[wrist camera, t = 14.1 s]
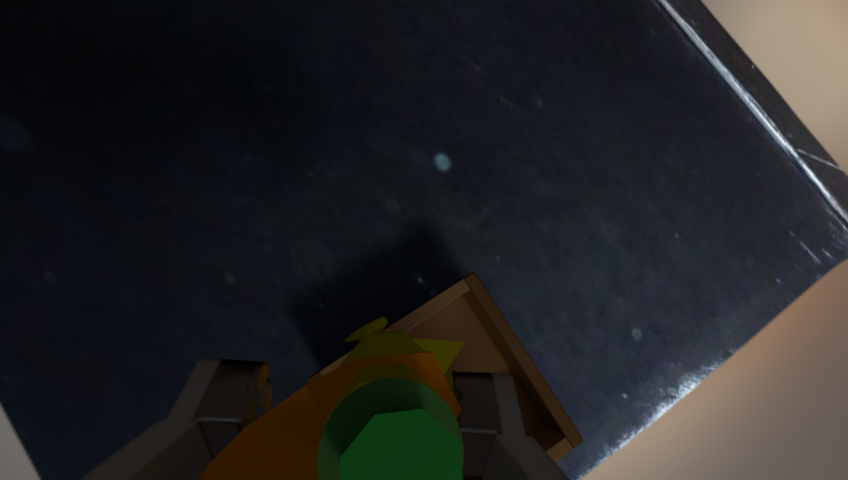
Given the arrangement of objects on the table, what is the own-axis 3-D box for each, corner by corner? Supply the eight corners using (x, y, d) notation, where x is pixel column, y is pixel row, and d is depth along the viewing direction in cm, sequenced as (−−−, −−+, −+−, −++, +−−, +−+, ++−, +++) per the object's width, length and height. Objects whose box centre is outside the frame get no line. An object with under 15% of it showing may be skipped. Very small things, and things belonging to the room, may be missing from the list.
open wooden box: (411, 524, 28) (415, 567, 23) (320, 368, 29) (306, 379, 24) (554, 420, 29) (584, 440, 25) (462, 277, 31) (474, 271, 26)
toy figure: (309, 461, 16) (97, 866, 4) (269, 373, 16) (-24, 524, 5) (466, 374, 17) (641, 507, 5) (425, 293, 18) (504, 252, 6)
